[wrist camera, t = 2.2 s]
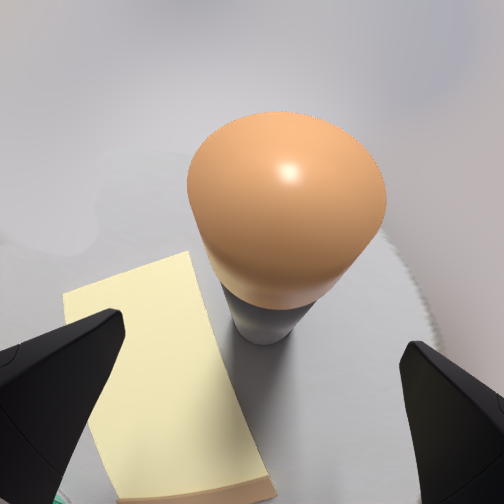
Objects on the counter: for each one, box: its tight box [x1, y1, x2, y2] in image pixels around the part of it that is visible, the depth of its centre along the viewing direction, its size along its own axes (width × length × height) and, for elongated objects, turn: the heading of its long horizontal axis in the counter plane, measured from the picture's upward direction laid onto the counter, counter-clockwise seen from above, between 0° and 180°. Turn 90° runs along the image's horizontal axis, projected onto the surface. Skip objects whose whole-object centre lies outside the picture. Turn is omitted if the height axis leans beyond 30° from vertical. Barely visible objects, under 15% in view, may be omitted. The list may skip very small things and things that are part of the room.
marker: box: [187, 112, 386, 345], centre depth 12 cm, size 4×4×14 cm
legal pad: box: [63, 251, 277, 504], centre depth 15 cm, size 18×11×1 cm, turn 20°
